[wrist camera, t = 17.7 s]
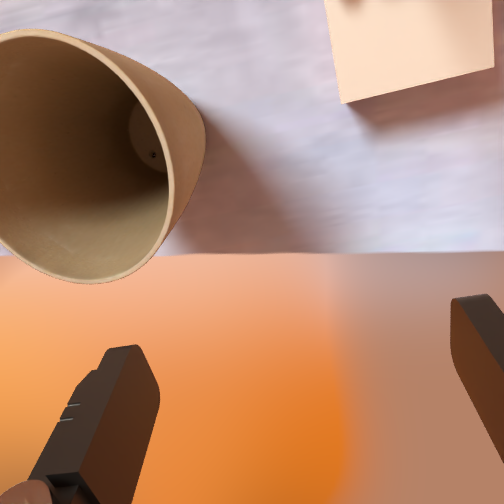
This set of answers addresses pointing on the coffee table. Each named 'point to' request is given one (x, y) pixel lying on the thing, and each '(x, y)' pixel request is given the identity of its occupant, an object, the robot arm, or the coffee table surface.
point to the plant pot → (90, 156)
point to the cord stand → (406, 43)
